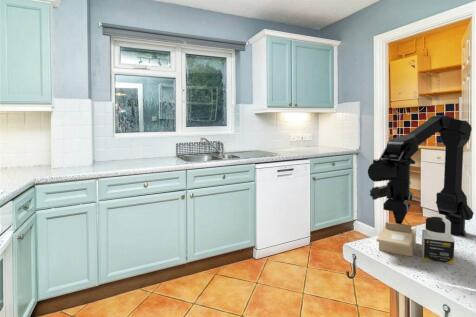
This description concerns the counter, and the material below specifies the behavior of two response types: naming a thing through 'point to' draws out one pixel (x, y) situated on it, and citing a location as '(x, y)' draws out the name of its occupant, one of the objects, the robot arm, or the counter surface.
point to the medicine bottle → (438, 240)
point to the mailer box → (399, 247)
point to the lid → (396, 234)
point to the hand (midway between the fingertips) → (398, 226)
